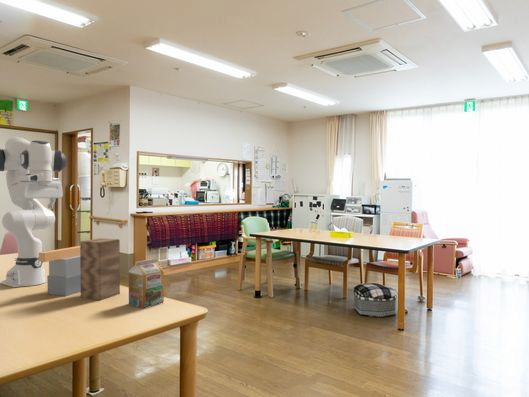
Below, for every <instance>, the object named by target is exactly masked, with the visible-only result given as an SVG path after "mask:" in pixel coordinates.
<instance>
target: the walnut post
mask: <svg viewBox="0 0 529 397" xmlns="http://www.w3.org/2000/svg"><path fill="white" fill-rule="evenodd" d="M79 246H80V267H81V292H80V298H83V299H89V300H97V301H103V300H106V299H109V298H112V297H115V296H117V294H118V295H120V294H121V286H120V283H121V281H120V280H121V272H120V271H121V270H120V269H121V268H120V265H121V264H120V263H121V262H120V260H121V259H120V255H121V254H120V250H121V248H120V247H121V246H120V239H116V238H115V239H114V238H104V237H103V238H100V237H98V238H93V239H85V240H80V244H79Z"/></svg>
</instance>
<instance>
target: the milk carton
mask: <svg viewBox="0 0 529 397" xmlns="http://www.w3.org/2000/svg"><path fill="white" fill-rule="evenodd" d="M164 273H165V271H164V269H163V268H162V266H161V265H160V264H159V262H158V259H157V258H153V259H145V260H139V261H135V265H134V266H132V267H131V268H130V269H129V270H128V304H129V305H131V306H134V307H137V308H140V309H147V308H150V307H149V306H151V307H153V305H155V306H157V305H156V304H158V305H160V304H159V303H162V304H164V303H163V302H164V301H165V296H164V295H165V287H164V286H165V284H164V283H165V278H164V277H165V276H164ZM146 307H147V308H146Z"/></svg>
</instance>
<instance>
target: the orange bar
mask: <svg viewBox="0 0 529 397" xmlns="http://www.w3.org/2000/svg"><path fill="white" fill-rule="evenodd" d="M79 255H80V245H77V246H70V247H65V248H58V249H54V250H52V249H51V250H47V251H42V252H39V261H41V262H43V263H47V262H48V263H49V261H53V260H58V259H63V258H69V257H74V256H79Z"/></svg>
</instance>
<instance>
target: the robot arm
mask: <svg viewBox="0 0 529 397" xmlns="http://www.w3.org/2000/svg"><path fill="white" fill-rule="evenodd" d="M4 146H5V148H4V149H3V148H0V172H4V171H6V173H5V179H6V180H5V181H6V186H7V190H8V194H9V196H10V201H11V202H12V204H13V205H14V206H17V207H19V208H21V209H16V210H11V211H7V212H5V214H4V215H3V216H2V220H1V222H2V223H1V224H2V226H3V228H4V229H5V230H6V231H8V232H9V233H11V235H12V236H13V237H14V239H15V241H16V245H17V246H16V247H17V257H15V258H14V261H15V264H14V265H13V266H12V267H11V268H10V269H9V270H7V272H6V275H5V280H1V281H0V284H1V285H5V286H8V287H12V288H18V287H31V286H38V285H42V284H45V283H46V282H47V277H46V271H45V265H44V264H43V263H44V262H41V261H39V252H43V242H42V240H41V239H40V238H38V237H36V236H34V235H33V233H32V231H36V230H37V231H39V230H44V229H45V230H46V229H48V228H52V227H53V226H54V224H55V222H56V216H55V213H54V212H53V211H52V210H50V209H54V204H55V203H56V199H62V198H63V195H64V192H63V185H62V180H61V179H60V178H58V177H53V172H54V173H55V172H56V173H59V172H61V171H63V170H64V169H65V168H66V167H67V157H66V155H65V154H64V153H63V152H62V151H61V150H55V149H54V150H52V147H51V144H50V142H48V141H46V140H28V139H26V138H24V137H21V136H12V137H10V138H8V139H7V140H6V142H5V145H4ZM39 199H49V201H50V202H49V203H48V204H47V207H46V206H44V205H43V204H42V203H41V202H40V201H39Z"/></svg>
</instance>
